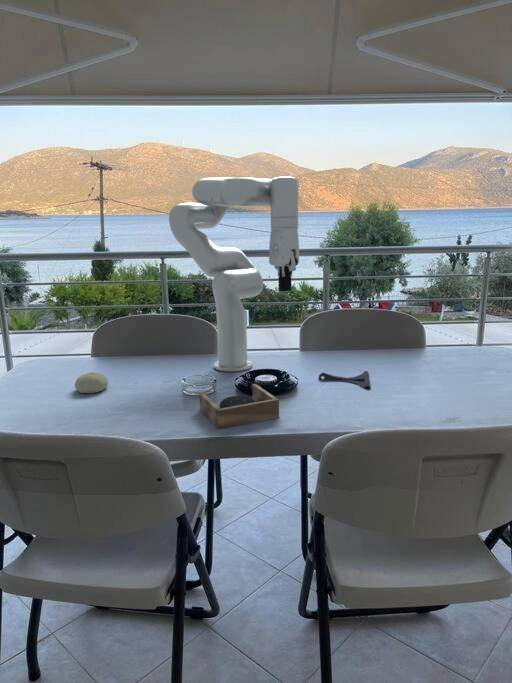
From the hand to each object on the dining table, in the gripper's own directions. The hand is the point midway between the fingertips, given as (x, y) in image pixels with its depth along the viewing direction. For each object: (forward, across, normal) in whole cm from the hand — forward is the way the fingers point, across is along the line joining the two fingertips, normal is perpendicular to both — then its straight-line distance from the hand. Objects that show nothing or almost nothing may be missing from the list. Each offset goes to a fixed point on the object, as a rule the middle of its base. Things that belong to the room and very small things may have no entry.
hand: (285, 290), depth 137 cm
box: (+27, +16, -22) cm, 39 cm away
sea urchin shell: (+28, -20, -53) cm, 63 cm away
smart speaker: (+28, +18, -23) cm, 40 cm away
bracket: (+28, +7, +16) cm, 33 cm away
